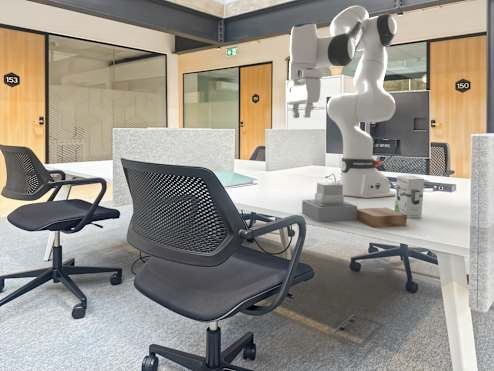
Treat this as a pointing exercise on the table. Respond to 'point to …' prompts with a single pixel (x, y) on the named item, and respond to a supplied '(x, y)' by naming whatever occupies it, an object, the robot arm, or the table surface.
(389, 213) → the walnut stand
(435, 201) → the table surface
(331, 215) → the grey riser
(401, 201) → the ink box
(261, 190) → the table surface
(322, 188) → the housing
